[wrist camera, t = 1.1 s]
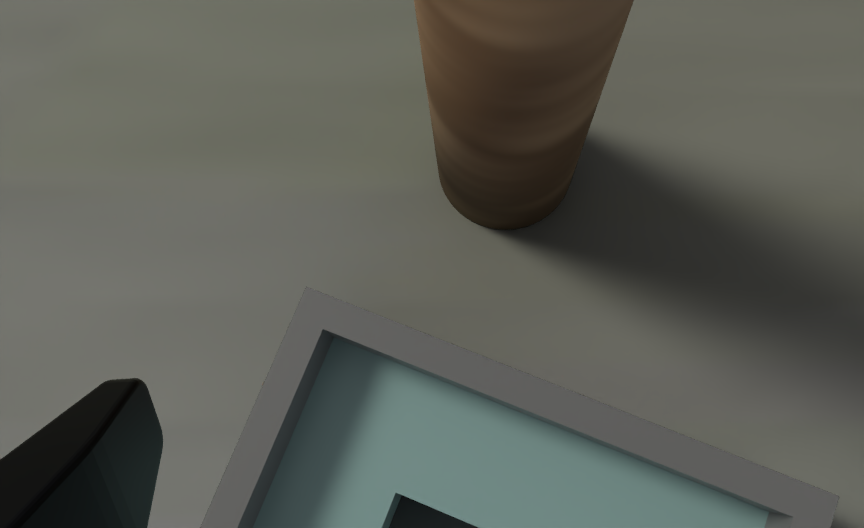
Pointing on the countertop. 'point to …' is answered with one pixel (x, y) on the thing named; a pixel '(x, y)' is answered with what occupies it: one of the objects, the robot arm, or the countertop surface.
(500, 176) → the walnut peg
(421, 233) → the countertop surface
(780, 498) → the peg box
